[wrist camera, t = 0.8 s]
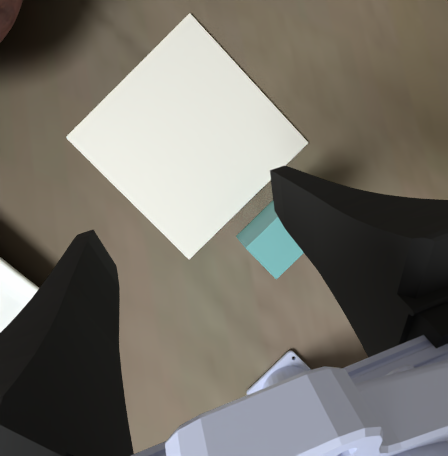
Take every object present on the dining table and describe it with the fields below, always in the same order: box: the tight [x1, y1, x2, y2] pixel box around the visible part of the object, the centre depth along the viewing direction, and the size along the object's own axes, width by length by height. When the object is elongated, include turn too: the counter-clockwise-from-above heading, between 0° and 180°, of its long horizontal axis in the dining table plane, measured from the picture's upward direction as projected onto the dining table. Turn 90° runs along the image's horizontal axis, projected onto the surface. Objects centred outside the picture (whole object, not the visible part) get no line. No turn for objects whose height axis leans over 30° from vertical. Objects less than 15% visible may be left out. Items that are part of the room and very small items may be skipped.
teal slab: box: [236, 201, 304, 279], centre depth 32 cm, size 4×8×10 cm, turn 134°
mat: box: [66, 13, 308, 259], centre depth 35 cm, size 20×20×1 cm
